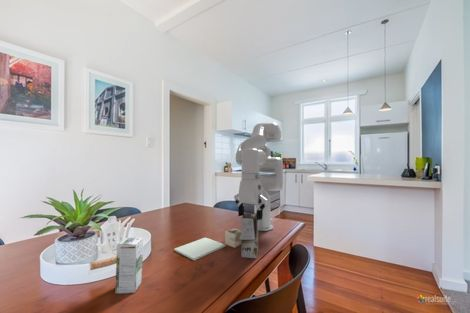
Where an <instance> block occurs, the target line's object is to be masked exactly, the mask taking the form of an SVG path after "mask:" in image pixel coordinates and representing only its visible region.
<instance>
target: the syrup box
mask: <svg viewBox="0 0 470 313" xmlns="http://www.w3.org/2000/svg"><path fill="white" fill-rule="evenodd" d="M143 253H144V238H143V237H125V238H124V239H123V240H121V241H120V243H118V244H117V245H116V260H115V261H116V263H115V264H116V265H115V266H116V267H115V269H116V270H115V289H114V290H115V292H114V293H115V294H119V295H120V294H130V293H131V294H132V293H133V294H134V293H136V291H137V290H138V288H139V287H140V285H141V284H142V282H143V261H144V260H143V258H144V257H143V256H144V255H143Z"/></svg>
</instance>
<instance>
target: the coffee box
mask: <svg viewBox="0 0 470 313" xmlns="http://www.w3.org/2000/svg"><path fill="white" fill-rule="evenodd" d="M241 231H242V244H241V253H240V254H241V256H240V257H241V258H249V259H257V256H258V253H259V252H258V251H259V230H258V220H257V213H254V212H249V213H247V212H244V215H243V216H241Z"/></svg>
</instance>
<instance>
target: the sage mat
mask: <svg viewBox="0 0 470 313" xmlns="http://www.w3.org/2000/svg"><path fill="white" fill-rule="evenodd" d="M225 247H226V244H225V243H222V242H219V241H216V240H214V239H211V238H209V237H208V238H207V237H202V238H200V239H197V240H195V241H192V242H189V243H187V244H184V245H180V246H178V247H175V248H174V249H173V251H174V252H176V253H178V254H180V255H182V256H184V257H187V259H189V260H192V261H197V260H199V259H201V258H204V257H205V256H207V255H209V254H211V253H213V252H216V251H218V250H219V251H220V250H221V249H223V248H225Z"/></svg>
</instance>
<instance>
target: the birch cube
mask: <svg viewBox="0 0 470 313" xmlns="http://www.w3.org/2000/svg"><path fill="white" fill-rule="evenodd" d="M224 233H225V234H224V235H225V237H224V238H225V240H224V241H225V242H224V244H225V246H229V247H231V248H235V249H236V248H237V247H240V246H242V229H240V230H239V229H237V228H231V229H229V230H226V231H224Z"/></svg>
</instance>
